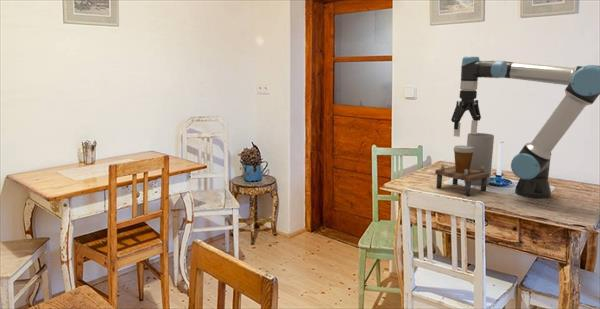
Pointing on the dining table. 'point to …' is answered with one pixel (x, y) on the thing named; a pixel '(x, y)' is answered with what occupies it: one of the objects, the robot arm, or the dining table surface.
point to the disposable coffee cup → (463, 157)
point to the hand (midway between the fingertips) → (465, 135)
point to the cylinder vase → (481, 153)
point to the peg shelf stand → (462, 177)
